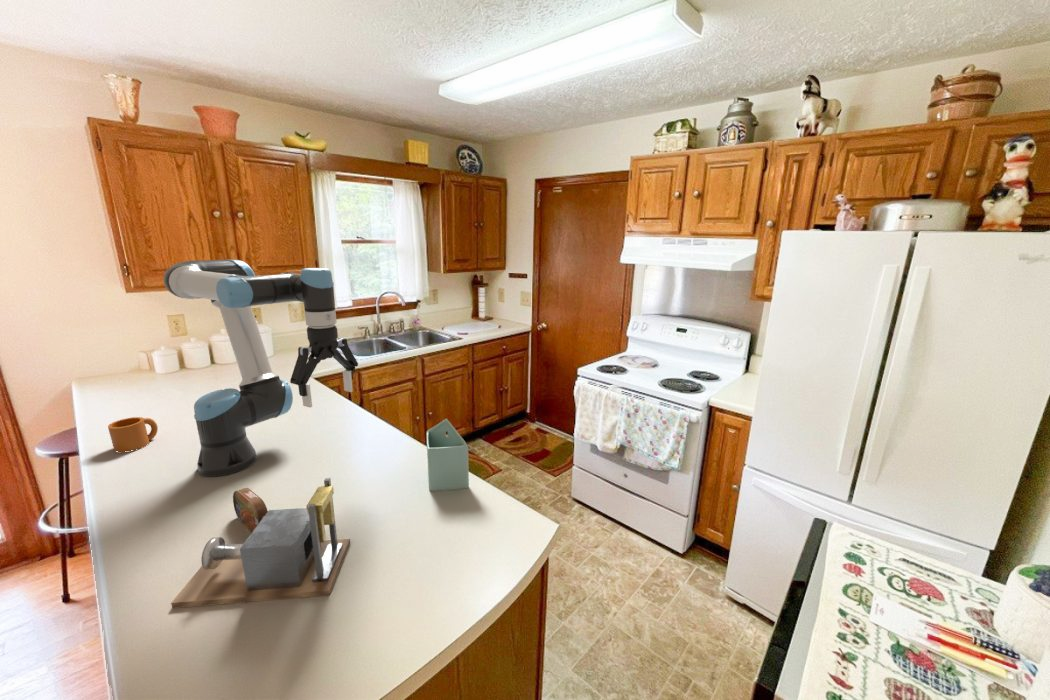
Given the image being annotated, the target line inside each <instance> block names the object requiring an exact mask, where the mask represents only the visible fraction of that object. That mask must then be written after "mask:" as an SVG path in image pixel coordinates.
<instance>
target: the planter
mask: <svg viewBox="0 0 1050 700" xmlns="http://www.w3.org/2000/svg"><path fill="white" fill-rule="evenodd" d="M446 433H447V434H446ZM426 455H427V474H428V475H427V477H428V478H427V479H428V481H427V482H428V490H429V491H430V492H431V491H432V492H435V491H451V490H460V489H461V490H462V489H463V490H464V489H469V487H470V485H469V484H470V483H469V482H470V479H469V475H470V474H469V473H470V471H469V469H470V468H469V446H468V444H467V442H466V441H465V440H464V438H463V437H462V436H461V435H460V433H459V432H458V430H457V429H456V428H455V427H454V426H453V425H452V423H451V422H450V421H449V420H448V419H447V418H445V419H443V420H442V421H440V422H439V423H438V424H435V425H434V426H433V427H431V428H429V429H427V431H426Z"/></svg>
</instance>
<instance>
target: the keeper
mask: <svg viewBox="0 0 1050 700" xmlns="http://www.w3.org/2000/svg"><path fill="white" fill-rule="evenodd" d="M334 493H335V491H334V485H331V486H325V485H323V486H317V488H316V489H315V491H314V493H313V494H312V496H311V498H310V499H309V501H308V502H307V504H306V505H305V506H306V507H305V508H307V514H309V512H308V506H309V504H315V507H316V515H317V523H318V531H319V539H320V543H324V541H325V540H326V539H327V537H326V529H325V528H326V527H325V526H329V525H333V523H334V515H335V511H334V512H333V506H334V502H333V503H332V497H333V496H334Z"/></svg>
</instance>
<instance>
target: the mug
mask: <svg viewBox="0 0 1050 700" xmlns="http://www.w3.org/2000/svg"><path fill="white" fill-rule="evenodd" d="M146 425H149V426H150V432H149V433H148V431H147V427H146ZM107 428H108V433H109V437H110V440H111V443H112V447H113V450H115V451H118V452H125V451H131V450H135V451H137V450H136V449H138V450H140V449H139V448H141V449H143V448H145V447H147V446H148V445H149V444H150V441H152V440H153V439H154V438H155V437H156V436H157V433H158V431H159V430H158V424H157V422H156V420H154V419H152V418H149V417H142V416H141V417H140V416H138V417H137V416H133V417H127V418H121V419H117V420H115V421H113V422H111V423H109V424H108V425H107ZM151 439H152V440H151ZM149 440H150V441H149ZM147 444H148V445H147ZM146 445H147V446H146ZM144 446H145V447H144ZM142 447H143V448H142ZM115 451H114V452H115ZM131 452H132V451H131Z"/></svg>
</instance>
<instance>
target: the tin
mask: <svg viewBox="0 0 1050 700" xmlns="http://www.w3.org/2000/svg"><path fill="white" fill-rule="evenodd" d="M232 503H233V508H234V511H235V514H236V517H237V519H238V520H239V522H240V523H242V525H244V526H245V528H247V529H248V531H249V532H250V533H252V532H253V531H254V529H255V528H256V527H257V525H258V524H259V523H260V521H261V520H262V519H263V517H264V516H265V515H266V514H267V512H268V511H269V510H268V508H267V505H266V503H265V502H264V500H263V499H262V498H261V497H260V496H259V495H258V494H256V493H255V492H254V491H252V490H251V488H248V487H245V488H244V487H243V488H241V489H239V490H235V491H234V492H233V494H232Z"/></svg>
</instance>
